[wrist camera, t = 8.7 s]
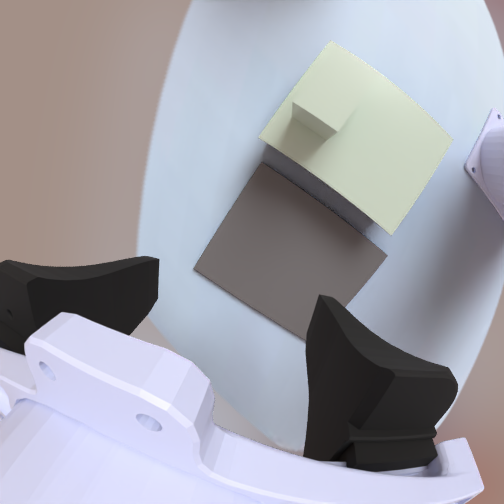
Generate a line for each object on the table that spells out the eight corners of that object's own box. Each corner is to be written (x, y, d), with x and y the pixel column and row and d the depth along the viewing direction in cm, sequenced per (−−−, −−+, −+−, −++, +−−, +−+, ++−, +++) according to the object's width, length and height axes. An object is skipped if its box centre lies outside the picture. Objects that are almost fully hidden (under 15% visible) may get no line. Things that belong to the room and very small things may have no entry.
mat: (386, 254, 20) (387, 255, 20) (310, 341, 23) (310, 343, 23) (262, 162, 19) (261, 162, 19) (195, 266, 23) (193, 268, 22)
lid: (444, 140, 15) (487, 136, 10) (385, 231, 17) (416, 254, 12) (328, 47, 14) (339, 10, 9) (260, 139, 17) (248, 128, 12)
